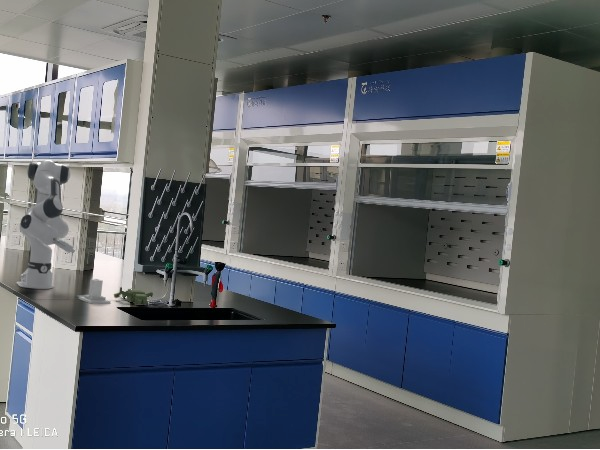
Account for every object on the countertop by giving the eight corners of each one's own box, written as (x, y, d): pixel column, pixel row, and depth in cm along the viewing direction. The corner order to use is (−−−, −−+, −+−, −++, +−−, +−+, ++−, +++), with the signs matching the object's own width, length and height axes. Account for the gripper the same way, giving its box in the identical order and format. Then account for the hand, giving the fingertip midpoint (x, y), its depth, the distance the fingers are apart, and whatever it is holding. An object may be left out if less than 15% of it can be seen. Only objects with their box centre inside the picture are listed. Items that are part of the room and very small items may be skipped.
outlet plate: (78, 299, 359) (79, 293, 359) (97, 299, 366) (98, 294, 366) (90, 303, 349) (91, 298, 349) (110, 303, 356) (110, 298, 356)
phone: (76, 296, 366) (76, 295, 366) (87, 296, 371) (87, 294, 371) (92, 301, 357) (92, 299, 357) (103, 300, 363) (103, 299, 363)
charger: (88, 298, 358) (90, 278, 358) (96, 298, 361) (98, 278, 361) (92, 299, 354) (94, 279, 354) (100, 299, 358) (102, 280, 357)
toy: (107, 296, 379) (121, 309, 354) (109, 283, 379) (123, 294, 353) (144, 297, 390) (160, 310, 364) (146, 285, 389) (162, 296, 364)
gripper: (63, 237, 336) (82, 250, 346) (43, 224, 349) (62, 237, 359) (55, 248, 335) (75, 260, 345) (36, 234, 348) (55, 247, 358)
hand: (68, 248), depth 352 cm, fingers open, 8 cm apart
